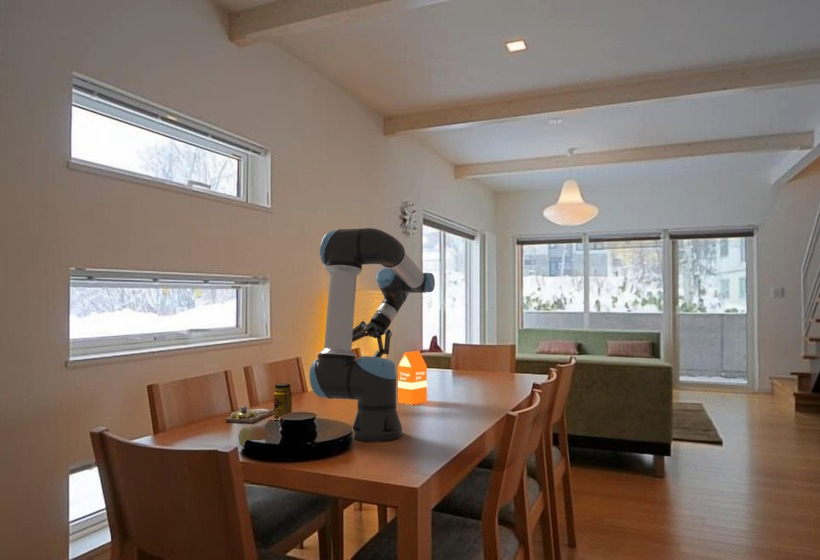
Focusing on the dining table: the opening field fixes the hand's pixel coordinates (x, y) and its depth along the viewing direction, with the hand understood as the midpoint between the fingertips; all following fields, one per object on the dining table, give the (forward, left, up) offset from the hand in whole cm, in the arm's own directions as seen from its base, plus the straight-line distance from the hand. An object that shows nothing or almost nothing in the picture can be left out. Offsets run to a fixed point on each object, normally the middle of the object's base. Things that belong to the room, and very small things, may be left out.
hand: (355, 361), depth 206 cm
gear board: (-22, +32, -18) cm, 42 cm away
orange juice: (+15, -18, -18) cm, 30 cm away
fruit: (-58, +11, -18) cm, 61 cm away
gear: (-25, +32, -17) cm, 44 cm away
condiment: (-21, +19, -18) cm, 33 cm away
